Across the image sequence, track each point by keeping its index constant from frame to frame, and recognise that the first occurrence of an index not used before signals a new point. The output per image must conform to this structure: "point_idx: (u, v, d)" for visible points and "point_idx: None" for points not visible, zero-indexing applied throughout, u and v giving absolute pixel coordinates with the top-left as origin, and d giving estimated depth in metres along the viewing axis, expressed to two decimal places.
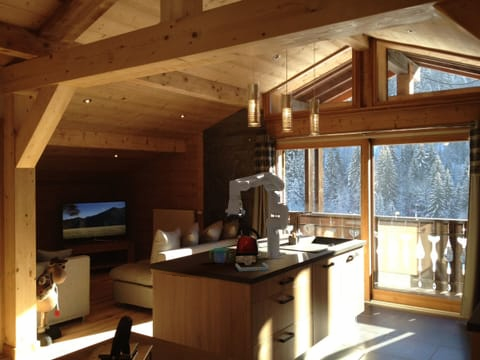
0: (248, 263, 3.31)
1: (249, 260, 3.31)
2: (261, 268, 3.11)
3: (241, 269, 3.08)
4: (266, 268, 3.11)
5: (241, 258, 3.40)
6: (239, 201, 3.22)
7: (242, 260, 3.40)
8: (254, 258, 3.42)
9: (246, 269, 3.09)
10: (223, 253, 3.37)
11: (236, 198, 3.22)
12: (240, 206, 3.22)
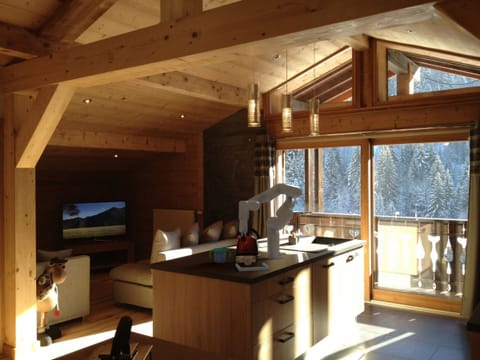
0: (248, 263, 3.31)
1: (249, 260, 3.31)
2: (261, 268, 3.11)
3: (241, 269, 3.08)
4: (266, 268, 3.11)
5: (241, 258, 3.40)
6: None
7: (242, 260, 3.40)
8: (254, 258, 3.42)
9: (246, 269, 3.09)
10: (223, 253, 3.37)
11: None
12: None
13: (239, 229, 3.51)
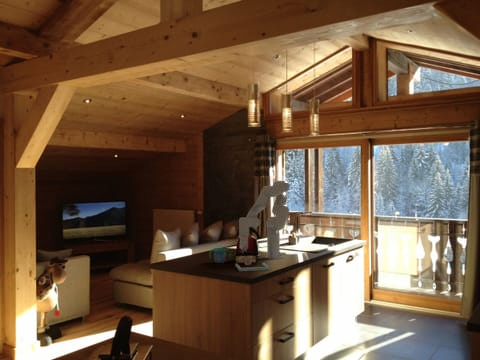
0: (248, 263, 3.31)
1: (249, 260, 3.31)
2: (261, 268, 3.11)
3: (241, 269, 3.08)
4: (266, 268, 3.11)
5: (241, 258, 3.40)
6: None
7: (242, 260, 3.40)
8: (254, 258, 3.42)
9: (246, 269, 3.09)
10: (223, 253, 3.37)
11: None
12: None
13: (240, 246, 3.51)
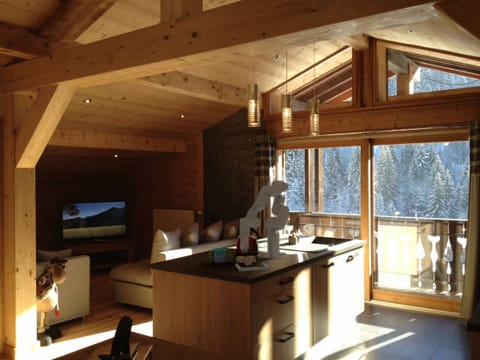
0: (248, 263, 3.30)
1: (249, 260, 3.30)
2: (261, 268, 3.11)
3: (241, 269, 3.08)
4: (266, 268, 3.11)
5: (241, 258, 3.39)
6: None
7: (242, 260, 3.40)
8: (254, 258, 3.41)
9: (246, 269, 3.09)
10: (223, 253, 3.37)
11: None
12: None
13: (240, 246, 3.48)
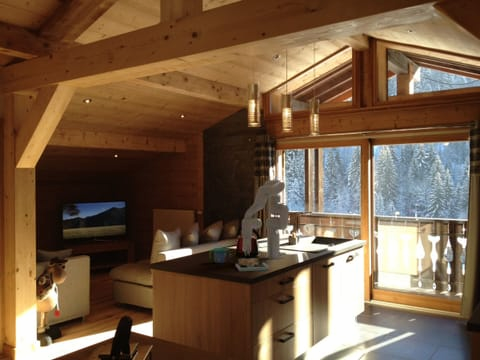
0: (251, 266, 3.20)
1: (252, 263, 3.20)
2: (261, 268, 3.11)
3: (241, 269, 3.08)
4: (266, 268, 3.11)
5: (243, 261, 3.29)
6: None
7: (244, 263, 3.29)
8: (257, 261, 3.31)
9: (246, 269, 3.09)
10: (223, 253, 3.37)
11: None
12: None
13: None
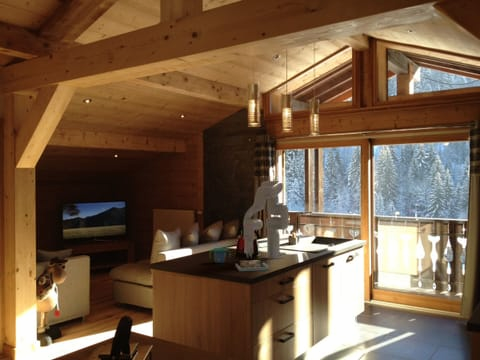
0: None
1: (254, 265, 3.13)
2: (261, 268, 3.11)
3: (241, 269, 3.08)
4: (266, 268, 3.11)
5: (245, 263, 3.22)
6: None
7: (246, 265, 3.22)
8: (259, 262, 3.24)
9: (246, 269, 3.09)
10: (223, 253, 3.37)
11: None
12: None
13: (244, 250, 3.30)
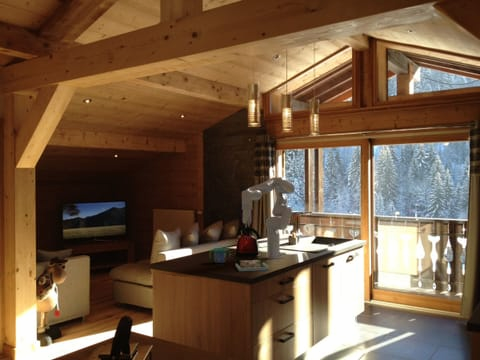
0: None
1: (254, 265, 3.13)
2: (261, 268, 3.11)
3: (241, 269, 3.08)
4: (266, 268, 3.11)
5: (245, 263, 3.22)
6: None
7: (246, 265, 3.22)
8: (259, 262, 3.24)
9: (246, 269, 3.09)
10: (223, 253, 3.37)
11: None
12: None
13: (243, 220, 3.38)
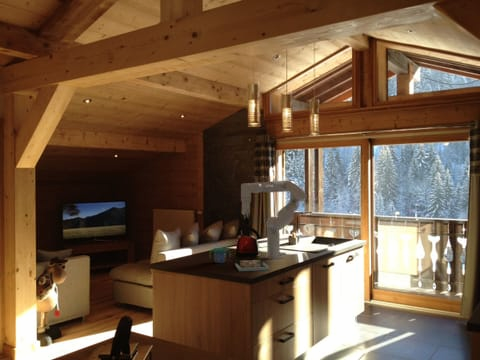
0: None
1: (254, 265, 3.13)
2: (261, 268, 3.11)
3: (241, 269, 3.08)
4: (266, 268, 3.11)
5: (245, 262, 3.22)
6: None
7: (246, 265, 3.22)
8: (259, 263, 3.24)
9: (246, 269, 3.09)
10: (223, 253, 3.37)
11: None
12: None
13: (242, 211, 3.53)
